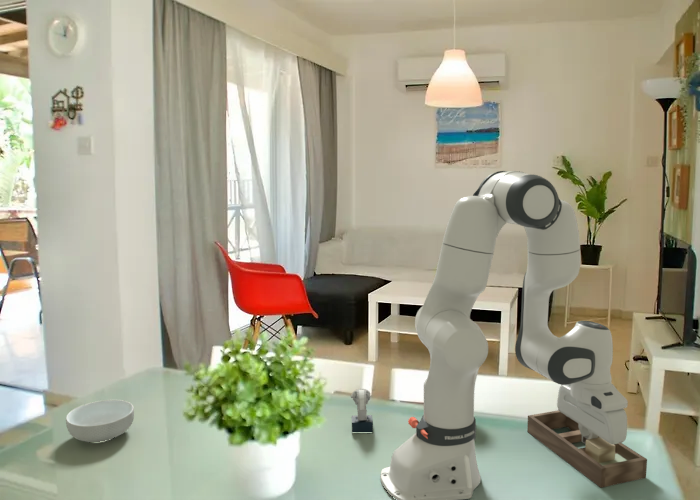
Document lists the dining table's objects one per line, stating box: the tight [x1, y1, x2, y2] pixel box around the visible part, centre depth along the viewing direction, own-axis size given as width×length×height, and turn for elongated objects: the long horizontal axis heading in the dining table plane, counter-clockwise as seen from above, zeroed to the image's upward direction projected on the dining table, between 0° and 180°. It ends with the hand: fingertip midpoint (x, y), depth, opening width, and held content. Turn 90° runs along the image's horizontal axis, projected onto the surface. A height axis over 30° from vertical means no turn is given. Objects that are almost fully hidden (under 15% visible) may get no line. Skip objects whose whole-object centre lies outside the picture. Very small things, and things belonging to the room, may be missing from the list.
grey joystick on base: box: [350, 388, 374, 433], centre depth 162 cm, size 6×8×11 cm
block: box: [584, 437, 615, 463], centre depth 142 cm, size 4×4×4 cm
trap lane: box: [527, 410, 648, 489], centre depth 147 cm, size 12×28×4 cm, turn 17°
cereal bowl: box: [65, 399, 135, 443], centre depth 162 cm, size 17×17×7 cm
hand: (588, 444), depth 145 cm, fingers closed
